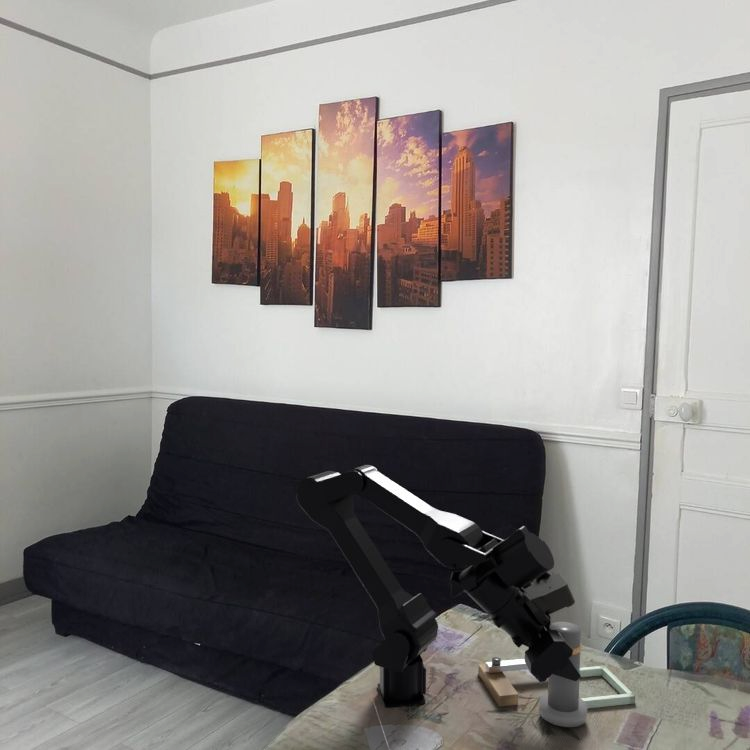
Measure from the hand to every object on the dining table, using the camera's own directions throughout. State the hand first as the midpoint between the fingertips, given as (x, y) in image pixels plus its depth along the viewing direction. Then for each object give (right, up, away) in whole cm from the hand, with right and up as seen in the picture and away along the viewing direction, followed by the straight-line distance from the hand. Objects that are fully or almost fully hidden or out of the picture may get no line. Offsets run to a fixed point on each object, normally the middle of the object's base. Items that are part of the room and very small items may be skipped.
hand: (573, 670), depth 103 cm
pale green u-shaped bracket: (+5, -7, +9) cm, 12 cm away
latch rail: (-10, -7, +9) cm, 15 cm away
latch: (-4, -4, +12) cm, 13 cm away
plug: (-1, -7, +1) cm, 7 cm away
